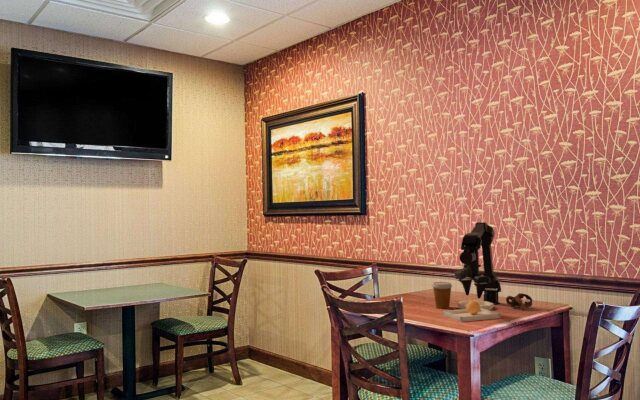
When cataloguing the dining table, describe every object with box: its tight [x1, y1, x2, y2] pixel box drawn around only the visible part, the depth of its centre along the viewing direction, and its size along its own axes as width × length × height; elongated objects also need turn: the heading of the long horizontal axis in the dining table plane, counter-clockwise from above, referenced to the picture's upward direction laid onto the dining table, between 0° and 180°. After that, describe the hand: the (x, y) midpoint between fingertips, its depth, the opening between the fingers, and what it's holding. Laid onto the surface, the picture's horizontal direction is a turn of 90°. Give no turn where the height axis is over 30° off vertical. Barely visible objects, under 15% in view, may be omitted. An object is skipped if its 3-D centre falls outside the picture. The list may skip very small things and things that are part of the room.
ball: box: [466, 300, 480, 314], centre depth 246 cm, size 6×6×6 cm
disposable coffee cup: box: [432, 281, 453, 309], centre depth 267 cm, size 10×10×12 cm
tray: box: [442, 308, 502, 323], centre depth 243 cm, size 20×15×2 cm
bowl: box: [456, 299, 495, 311], centre depth 265 cm, size 16×16×2 cm
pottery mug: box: [505, 292, 533, 311], centre depth 260 cm, size 12×10×8 cm
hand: (473, 296), depth 246 cm, fingers open, 9 cm apart
